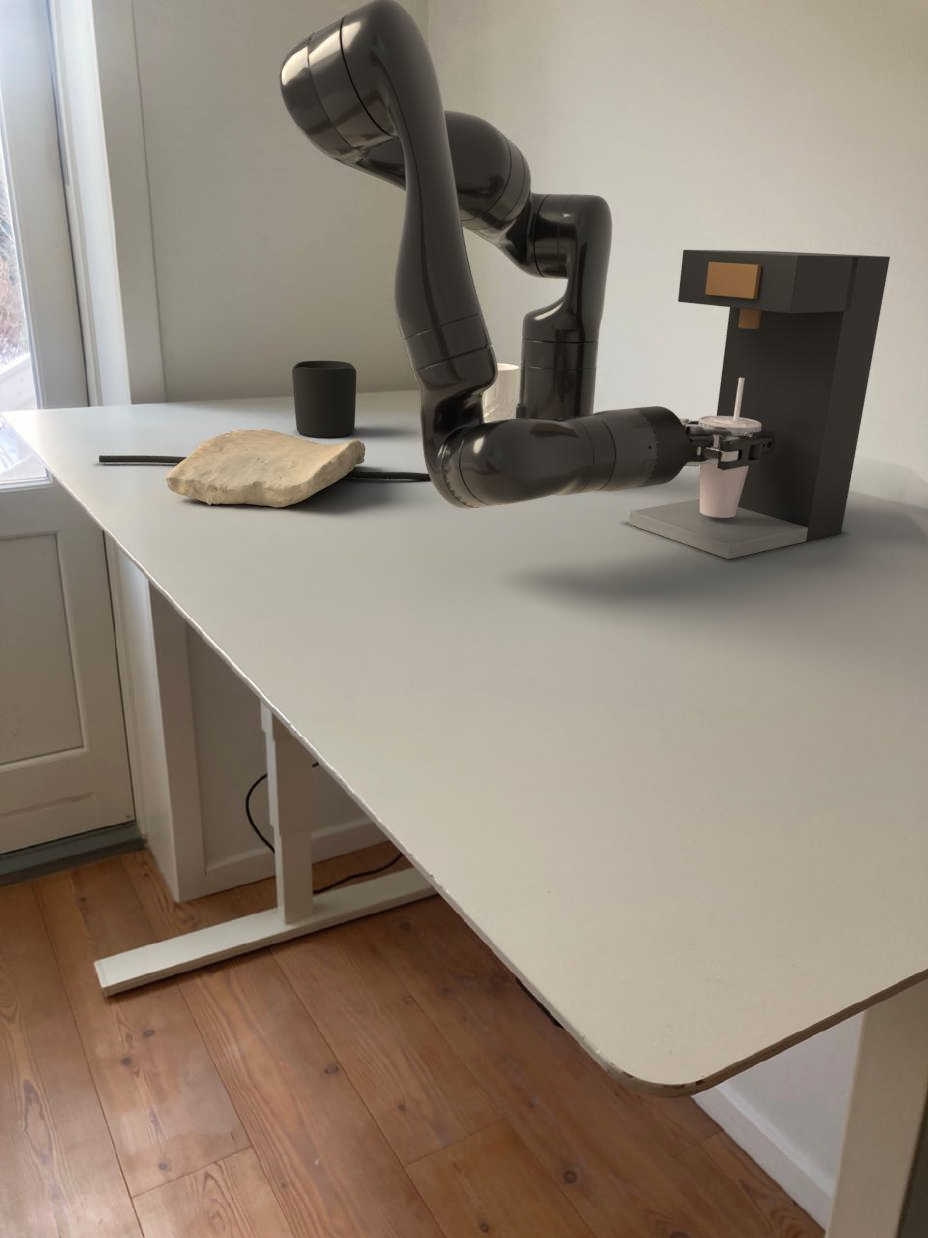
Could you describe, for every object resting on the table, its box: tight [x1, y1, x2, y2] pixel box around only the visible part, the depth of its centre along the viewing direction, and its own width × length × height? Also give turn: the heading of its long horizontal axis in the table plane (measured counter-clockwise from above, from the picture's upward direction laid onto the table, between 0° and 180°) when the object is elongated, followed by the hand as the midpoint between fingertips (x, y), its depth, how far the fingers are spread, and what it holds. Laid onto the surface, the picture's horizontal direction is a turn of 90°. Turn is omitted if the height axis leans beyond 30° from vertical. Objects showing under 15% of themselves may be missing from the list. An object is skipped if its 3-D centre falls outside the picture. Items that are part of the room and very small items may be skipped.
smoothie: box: [698, 378, 762, 518], centre depth 102 cm, size 6×6×14 cm
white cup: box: [482, 362, 521, 423], centre depth 151 cm, size 8×8×10 cm
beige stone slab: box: [165, 428, 366, 508], centre depth 118 cm, size 24×8×20 cm
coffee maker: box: [628, 249, 891, 560], centre depth 102 cm, size 18×14×28 cm
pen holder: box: [291, 360, 357, 439], centre depth 147 cm, size 9×9×10 cm
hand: (742, 435), depth 103 cm, fingers closed on smoothie, 6 cm apart
